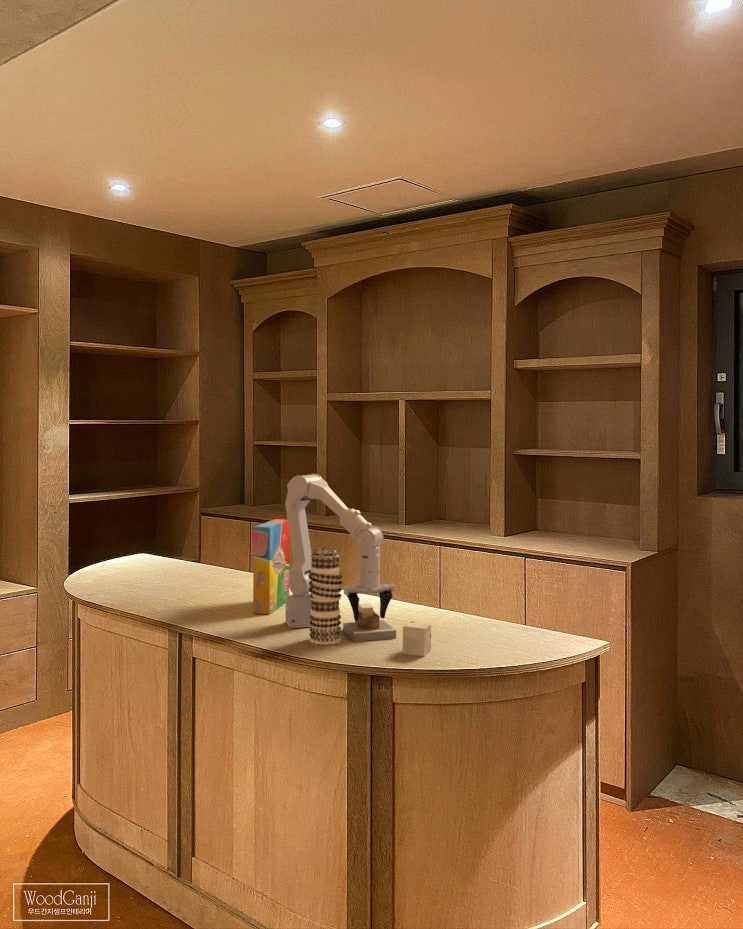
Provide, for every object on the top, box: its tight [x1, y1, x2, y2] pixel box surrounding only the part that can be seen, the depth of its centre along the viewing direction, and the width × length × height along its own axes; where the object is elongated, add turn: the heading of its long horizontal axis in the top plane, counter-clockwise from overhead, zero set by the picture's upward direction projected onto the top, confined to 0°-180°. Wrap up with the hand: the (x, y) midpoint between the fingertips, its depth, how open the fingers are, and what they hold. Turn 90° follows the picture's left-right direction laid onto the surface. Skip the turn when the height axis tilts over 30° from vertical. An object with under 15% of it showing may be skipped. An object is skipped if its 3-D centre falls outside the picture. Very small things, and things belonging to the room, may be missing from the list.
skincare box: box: [402, 620, 432, 657], centre depth 210 cm, size 6×6×7 cm
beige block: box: [358, 603, 374, 617], centre depth 230 cm, size 3×5×3 cm, turn 16°
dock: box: [342, 619, 397, 642], centre depth 227 cm, size 12×12×2 cm
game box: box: [252, 518, 290, 615], centre depth 257 cm, size 21×6×27 cm, turn 168°
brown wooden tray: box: [354, 610, 380, 629], centre depth 229 cm, size 5×9×3 cm, turn 14°
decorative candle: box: [308, 548, 343, 646], centre depth 219 cm, size 9×9×25 cm
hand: (369, 618), depth 227 cm, fingers open, 7 cm apart
